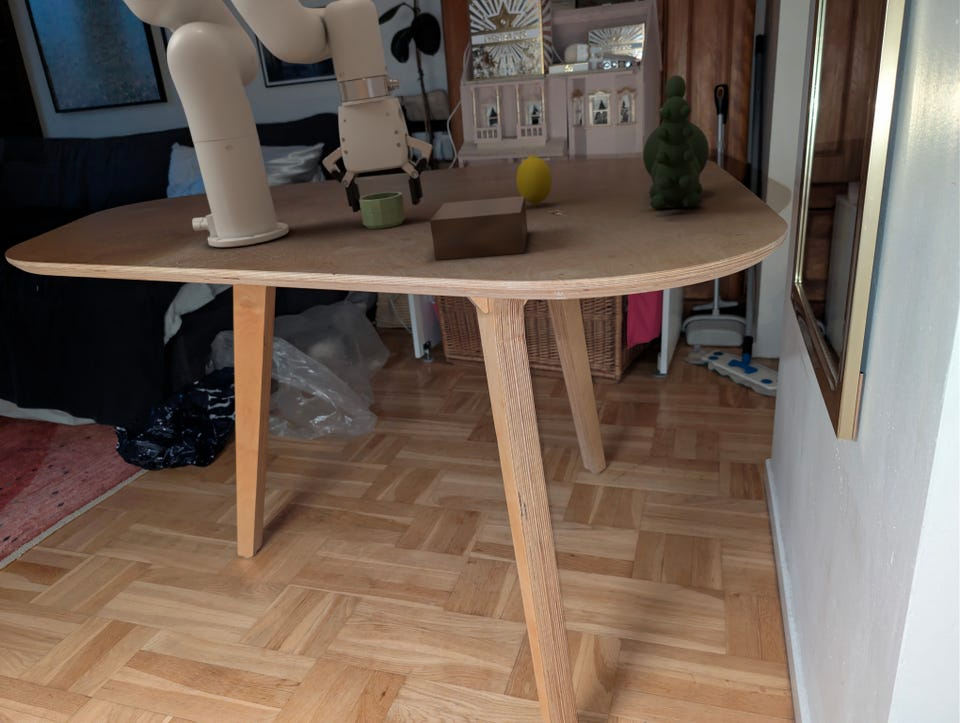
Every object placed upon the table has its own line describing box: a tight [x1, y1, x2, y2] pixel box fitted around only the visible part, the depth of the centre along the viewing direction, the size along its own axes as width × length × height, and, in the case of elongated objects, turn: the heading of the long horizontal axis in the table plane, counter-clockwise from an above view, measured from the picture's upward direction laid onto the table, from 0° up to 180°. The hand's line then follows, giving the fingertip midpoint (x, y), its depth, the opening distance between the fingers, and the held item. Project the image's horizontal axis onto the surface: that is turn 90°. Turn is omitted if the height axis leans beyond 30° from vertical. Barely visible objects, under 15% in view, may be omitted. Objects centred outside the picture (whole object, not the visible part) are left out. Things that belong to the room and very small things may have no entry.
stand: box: [429, 196, 528, 261], centre depth 90 cm, size 11×11×5 cm
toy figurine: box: [643, 74, 710, 210], centre depth 100 cm, size 9×19×25 cm
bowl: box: [358, 191, 406, 230], centre depth 111 cm, size 7×7×4 cm
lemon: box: [515, 154, 552, 207], centre depth 111 cm, size 6×6×8 cm
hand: (387, 206), depth 111 cm, fingers open, 9 cm apart
